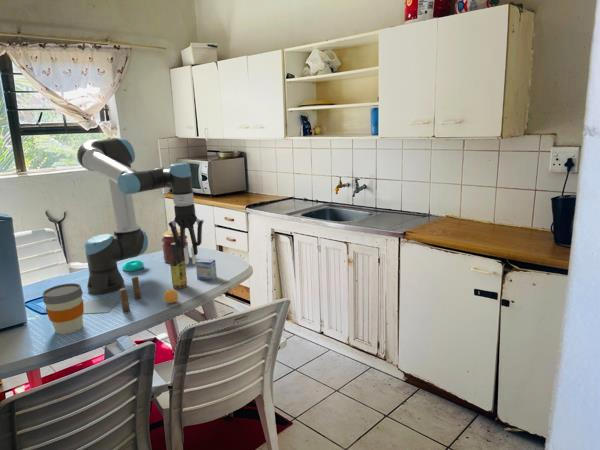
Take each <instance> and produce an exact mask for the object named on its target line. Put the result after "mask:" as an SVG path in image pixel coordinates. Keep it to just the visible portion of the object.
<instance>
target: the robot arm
mask: <svg viewBox="0 0 600 450" xmlns="http://www.w3.org/2000/svg"><path fill="white" fill-rule="evenodd" d="M76 158H77V161H78V163H79V165H80V166H81V167H83V168H84V169H85V170H88V171H89V172H96V173H97V174H100V175H102V176H103V177H105V178H107V179H108V183H109V189H110V195H111V202H112V208H113V209H112V210H113V214H114V220H115V225H116V227H115V228H114V229H113V234H111V233H103V234H98V235H95V236H93V237H90V238H89V239H87V240H86V241H85V243H84V253H85V257H86V262H87V267H88V272H89V273H88V281H87V287H86V288H87V292H88V293H89V294H93V295H104V294H109V293H112V292H116V291H117V290H120V289H123V287H124V286H125V280H124V278H123V276H122V274H121V272H120V270H119V267H118V262H120V261H125V260H127V259H132V258H131V257H134V258H137V257H139V256H140V255H143V254H145V253H146V251H147V249H148V245H149V238H148V235H147V234H146V233H147V232H146V231H145V230H144V229H141V228H142V227H141V226H140V225H138V224H137V218H136V214H135V206H134V199H133V195H135V194H137V193H143V192H147V191H154V190H159V189H165V188H166V189H167V188H168V189H169V188H170V189H171V190H172V202H173V205H174V206H173V208H174V220H171V221H170V222H169V223H168V226H169V228H170V230H171V229H172V233H173V237H174V241H175V245H176V246H177V247H180V248H181V252H182V256H185V265H188V264H189V262H190V256H189V257H188V251H189V248H188V249H187V246H185V245H186V244H185V235H186V229H188V233H189V237H190V240H191V244H192V245H191V247H190V253H191V260H192V261H191V262H192V264H193V265H196V261H197V255H198V253H199V250H198V246H200V245H201V244H202V242H203V241H202V237H203V233H202V232H203V225H204V223H205V221H204V219H200V218H198V216H197V215H196V208H195V199H194V198H195V197H194V190H193V189H194V188H193V180H192V179H193V178H192V172H191V171H192V170H191V166H190V164H189V163H188V162H187V163H186V162H178V163H177V162H176V163H172V164H170V165H169V168H168V167H161V166H160V167H156V168H154V169H148V170H147V169H146V170H140V171H137V170H135V169H134V168H132V164H133V163H134V162H135V158H136V154H135V149H134V147H133V144H131V142H129V140H128V139H126V138H124V137H123V138H122V137H114V138H103V139H102V138H99V139H90V140H87V141H85V142H84V143H82V144H81V145H80V146H79V148H78V149H77V153H76ZM195 224H196V225H197V228H196V229H197V230H196V231H197V233H196V234H195V232H196V231H195V227H194V225H195ZM177 225H178V227H179V230H180V240H179V236H178V232H177V230H178V229H177ZM196 235H197V236H196ZM138 255H139V256H138ZM136 256H137V257H136Z"/></svg>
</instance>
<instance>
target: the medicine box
mask: <svg viewBox="0 0 600 450" xmlns="http://www.w3.org/2000/svg"><path fill="white" fill-rule="evenodd" d="M216 265H217V264H216V259H203V258H202V259H201V258H200V259H198V260H196V263H195V268H196V278H197V280H198V281H214V280H215V279H216V278H217V277H218V275H217V267H216Z"/></svg>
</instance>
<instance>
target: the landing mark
mask: <svg viewBox="0 0 600 450" xmlns="http://www.w3.org/2000/svg"><path fill="white" fill-rule="evenodd" d="M119 302H121V297H111V298H110V297H108V298H107V297H106V298H105V297H104V298H90V299H89V298H88V299H87V300H86V301H85V302H83V306H84V313H83V315H86V314H87V313H91V314H107V313H109V312H110V311H111V310H112V309H113V308H114V307H115V306H116V305H117V304H118V303H119ZM87 315H88V314H87Z"/></svg>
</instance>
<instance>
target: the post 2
mask: <svg viewBox="0 0 600 450" xmlns="http://www.w3.org/2000/svg"><path fill="white" fill-rule="evenodd" d="M131 284H132V290H133V297H134V300H140V299H141V298H142V294H141V288H140V280H139V277H138V276H133V277H131Z"/></svg>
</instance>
